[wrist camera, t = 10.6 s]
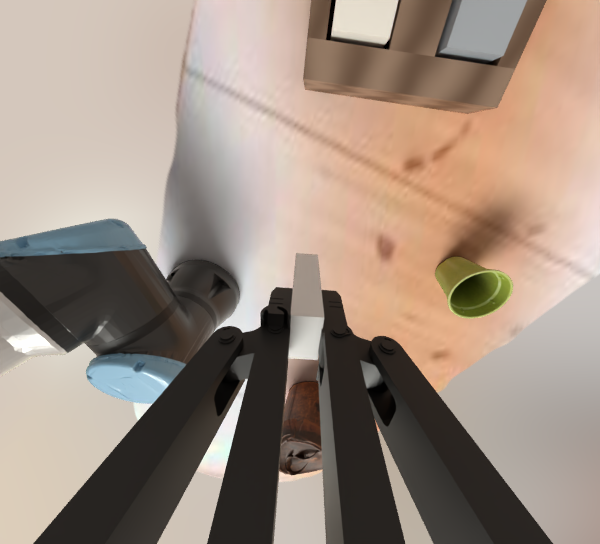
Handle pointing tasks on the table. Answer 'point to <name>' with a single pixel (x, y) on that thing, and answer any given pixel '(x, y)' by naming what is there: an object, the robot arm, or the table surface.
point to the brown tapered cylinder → (301, 430)
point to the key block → (412, 61)
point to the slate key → (479, 29)
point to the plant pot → (473, 287)
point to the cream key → (363, 22)
